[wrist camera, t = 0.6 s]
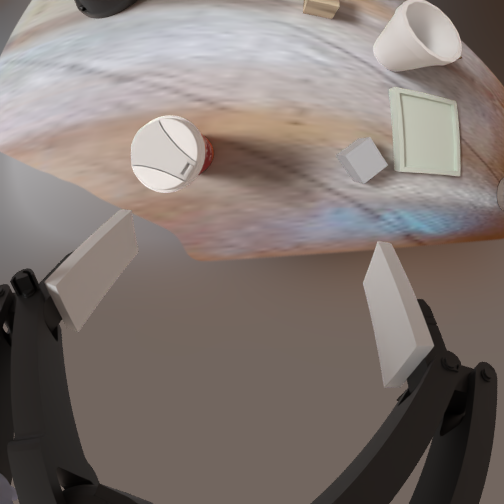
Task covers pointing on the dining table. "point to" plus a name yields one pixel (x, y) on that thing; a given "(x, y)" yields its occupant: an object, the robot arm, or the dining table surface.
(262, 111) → the dining table surface
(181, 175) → the paper cup
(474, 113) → the dining table surface
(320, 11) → the beech block
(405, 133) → the tray
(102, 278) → the robot arm
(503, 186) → the coffee cup
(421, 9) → the foam cup
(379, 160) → the grey painted block
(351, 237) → the dining table surface
